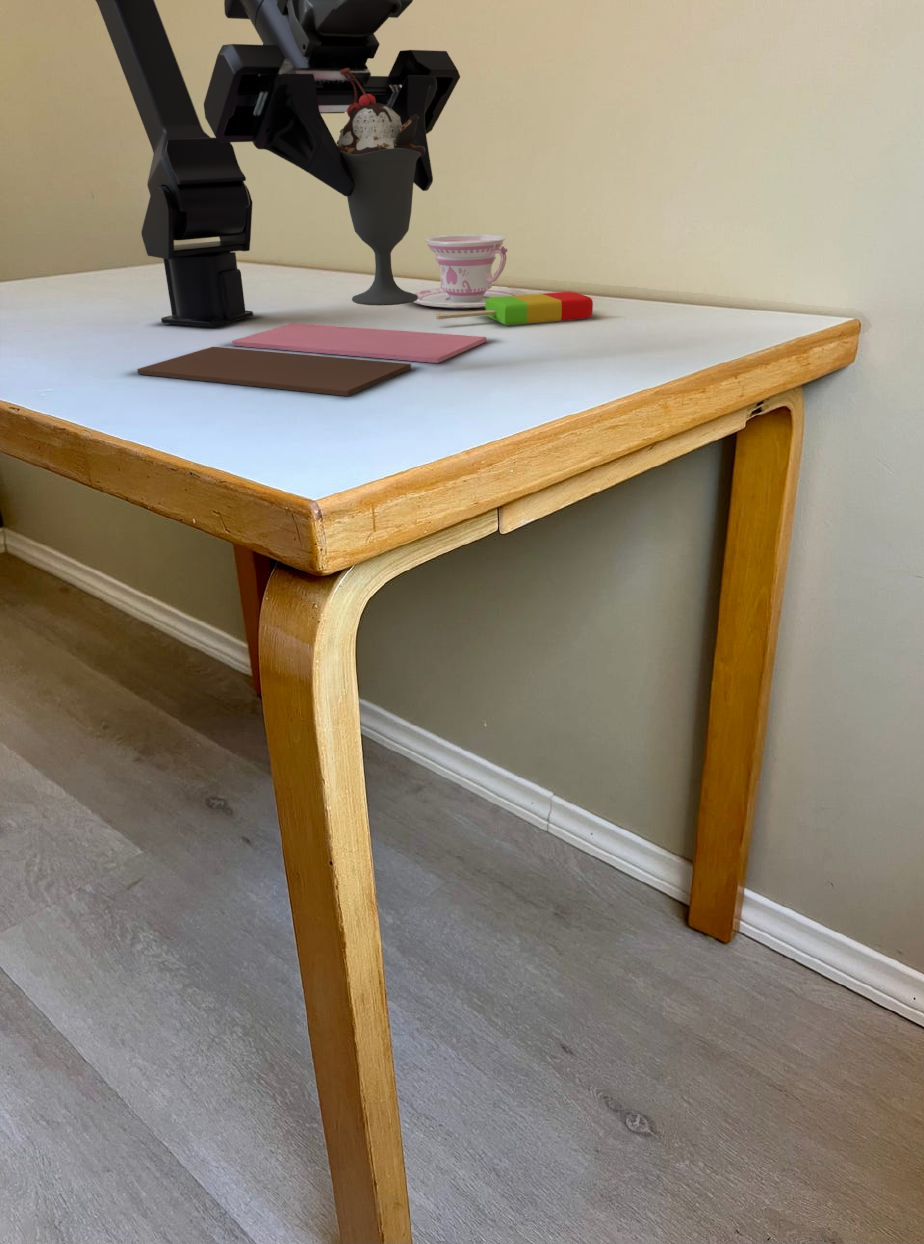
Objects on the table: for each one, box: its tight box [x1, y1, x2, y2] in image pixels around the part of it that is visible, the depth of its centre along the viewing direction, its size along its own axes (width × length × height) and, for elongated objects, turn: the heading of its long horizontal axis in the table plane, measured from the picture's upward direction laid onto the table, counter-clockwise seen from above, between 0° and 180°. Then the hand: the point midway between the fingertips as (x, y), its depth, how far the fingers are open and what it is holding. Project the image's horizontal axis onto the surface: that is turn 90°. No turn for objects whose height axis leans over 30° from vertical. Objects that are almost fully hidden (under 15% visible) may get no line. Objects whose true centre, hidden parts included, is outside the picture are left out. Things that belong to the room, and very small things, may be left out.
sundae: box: [336, 68, 425, 307], centre depth 68 cm, size 7×7×15 cm
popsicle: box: [435, 291, 594, 326], centre depth 91 cm, size 6×15×2 cm, turn 109°
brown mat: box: [136, 346, 412, 397], centre depth 74 cm, size 19×9×1 cm, turn 64°
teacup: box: [413, 233, 526, 309], centre depth 100 cm, size 12×12×6 cm
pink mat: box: [231, 322, 487, 364], centre depth 83 cm, size 20×9×1 cm, turn 64°
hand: (390, 188), depth 67 cm, fingers closed on sundae, 6 cm apart
